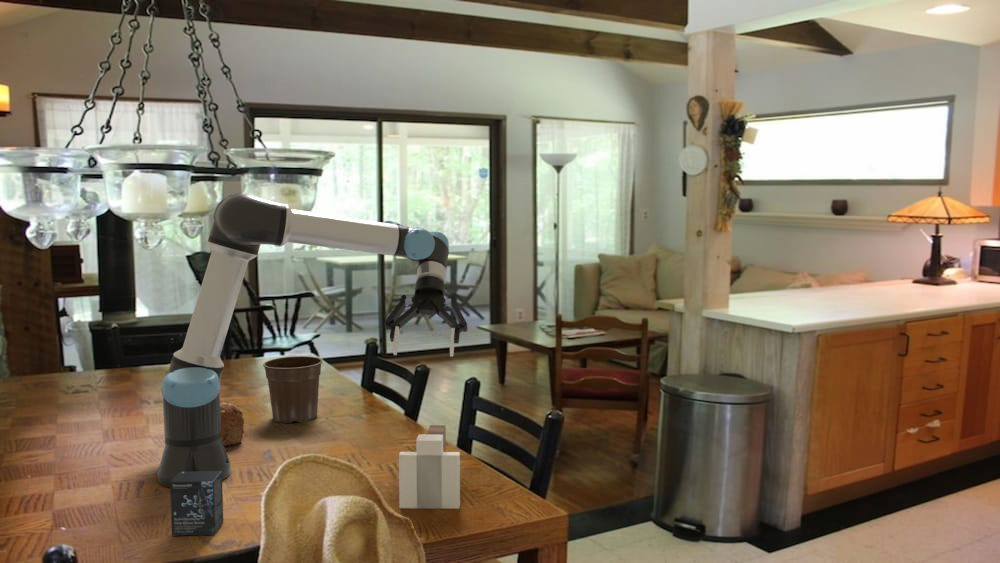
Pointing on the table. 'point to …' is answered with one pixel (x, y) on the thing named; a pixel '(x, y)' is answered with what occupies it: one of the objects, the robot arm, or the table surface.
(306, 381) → the plant pot
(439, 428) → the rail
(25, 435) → the table surface
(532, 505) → the table surface
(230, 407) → the bread
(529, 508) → the table surface
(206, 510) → the box
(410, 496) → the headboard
